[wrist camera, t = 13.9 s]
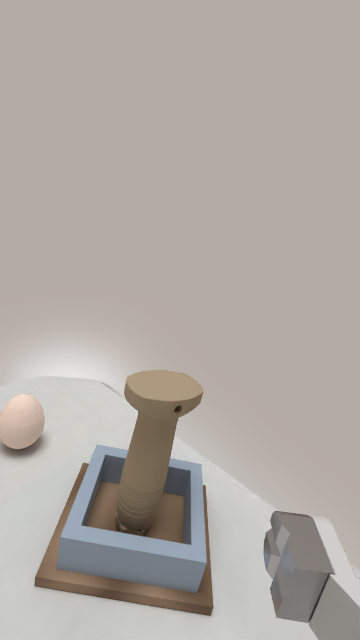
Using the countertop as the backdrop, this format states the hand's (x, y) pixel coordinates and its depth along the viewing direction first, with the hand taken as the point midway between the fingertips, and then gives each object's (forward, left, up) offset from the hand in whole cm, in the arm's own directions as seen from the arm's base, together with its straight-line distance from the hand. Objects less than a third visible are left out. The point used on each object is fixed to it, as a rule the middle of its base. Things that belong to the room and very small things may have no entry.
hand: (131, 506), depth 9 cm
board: (-1, -16, -21) cm, 27 cm away
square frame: (-1, -16, -21) cm, 27 cm away
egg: (+14, -24, -21) cm, 35 cm away
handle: (-1, -16, -20) cm, 25 cm away
